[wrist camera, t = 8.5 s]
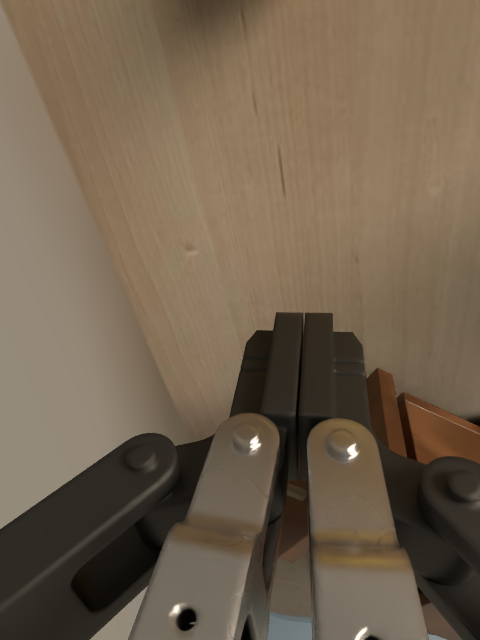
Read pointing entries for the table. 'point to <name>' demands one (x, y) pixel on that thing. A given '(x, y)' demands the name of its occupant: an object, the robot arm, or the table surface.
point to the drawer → (396, 434)
